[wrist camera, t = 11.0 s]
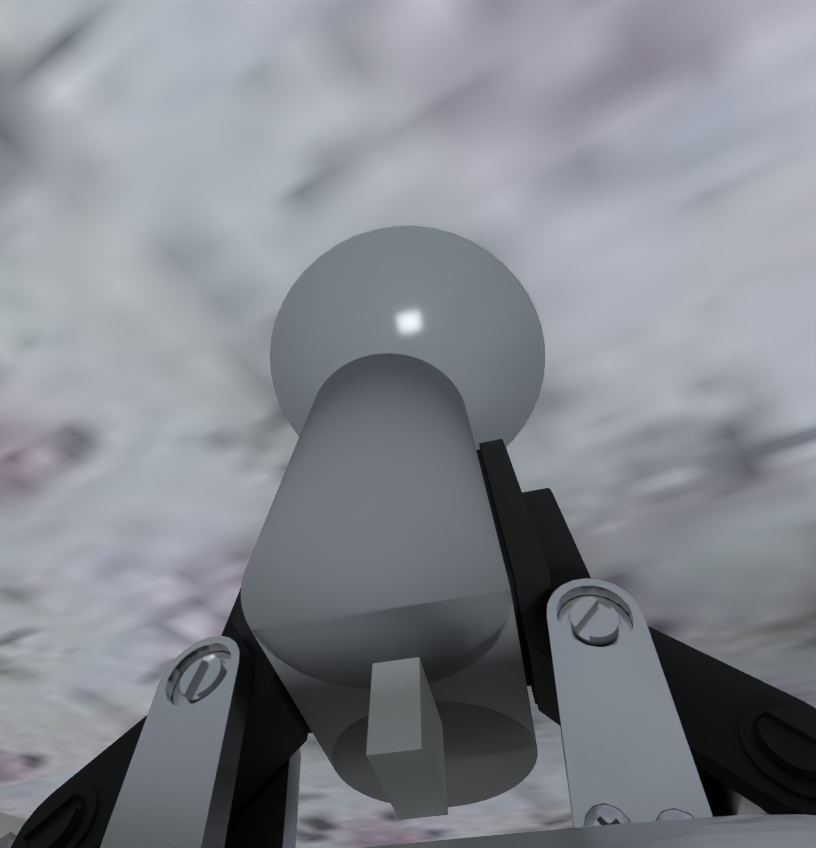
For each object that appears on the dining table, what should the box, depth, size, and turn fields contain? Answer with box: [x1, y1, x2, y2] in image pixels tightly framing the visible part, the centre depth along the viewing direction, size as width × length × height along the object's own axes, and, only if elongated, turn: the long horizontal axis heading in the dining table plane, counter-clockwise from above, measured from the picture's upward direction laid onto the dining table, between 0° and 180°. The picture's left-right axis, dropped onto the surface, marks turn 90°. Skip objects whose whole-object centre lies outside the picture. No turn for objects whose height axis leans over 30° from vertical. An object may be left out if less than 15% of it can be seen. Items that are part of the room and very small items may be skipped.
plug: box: [241, 353, 537, 820], centre depth 9 cm, size 8×4×6 cm, turn 13°
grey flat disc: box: [270, 226, 545, 450], centre depth 19 cm, size 11×11×1 cm
